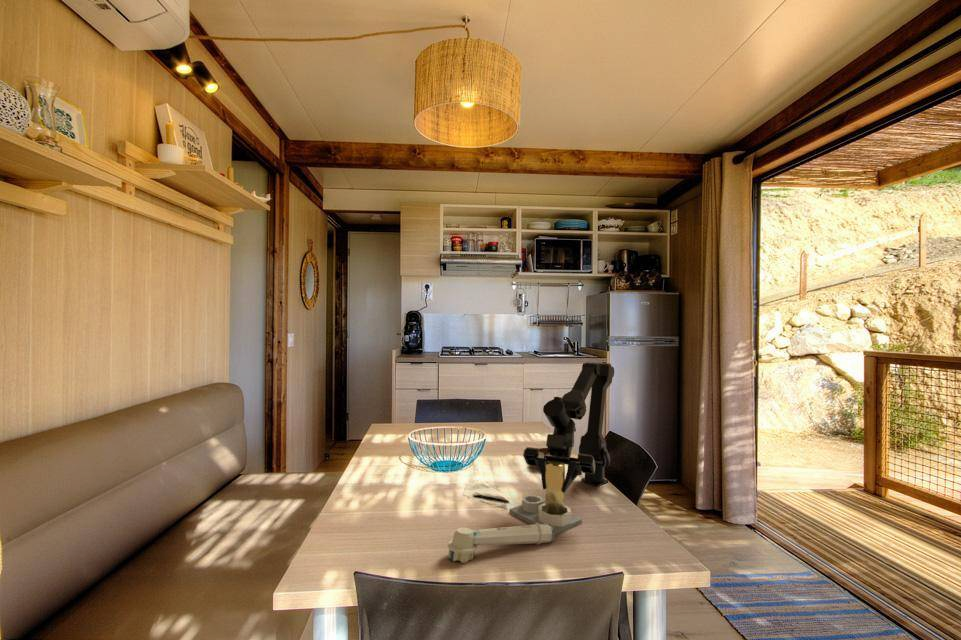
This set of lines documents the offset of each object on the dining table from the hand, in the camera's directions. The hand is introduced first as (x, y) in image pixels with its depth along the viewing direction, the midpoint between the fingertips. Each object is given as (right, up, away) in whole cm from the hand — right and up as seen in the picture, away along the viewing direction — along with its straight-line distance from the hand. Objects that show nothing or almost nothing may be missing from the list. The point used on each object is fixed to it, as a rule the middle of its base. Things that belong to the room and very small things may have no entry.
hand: (553, 490), depth 111 cm
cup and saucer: (+5, -10, +45) cm, 46 cm away
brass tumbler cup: (+1, -7, +1) cm, 7 cm away
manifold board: (-2, -9, +4) cm, 10 cm away
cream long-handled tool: (-14, -9, -12) cm, 21 cm away
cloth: (-18, -10, +21) cm, 29 cm away
